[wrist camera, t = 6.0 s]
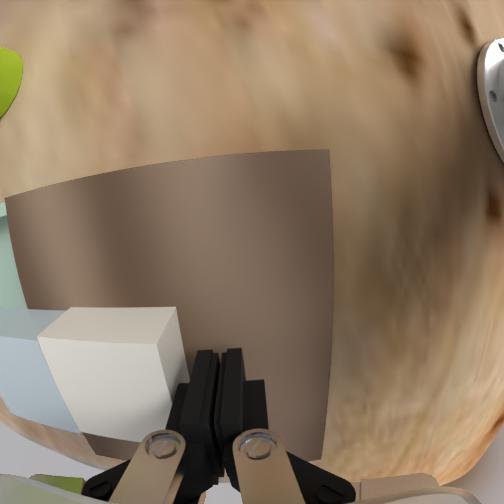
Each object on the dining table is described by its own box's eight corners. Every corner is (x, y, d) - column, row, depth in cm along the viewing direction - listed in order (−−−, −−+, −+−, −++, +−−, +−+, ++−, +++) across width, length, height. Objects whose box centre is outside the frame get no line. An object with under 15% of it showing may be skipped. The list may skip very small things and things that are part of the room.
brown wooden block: (300, 158, 16) (329, 149, 10) (305, 396, 20) (320, 459, 14) (68, 188, 16) (4, 198, 10) (122, 400, 20) (96, 454, 14)
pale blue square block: (70, 310, 11) (37, 340, 9) (101, 398, 13) (81, 434, 10) (3, 307, 11) (-30, 330, 9) (33, 385, 13) (10, 413, 10)
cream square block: (175, 306, 11) (156, 343, 9) (195, 402, 13) (185, 446, 10) (70, 306, 11) (36, 336, 9) (101, 395, 13) (80, 431, 10)
